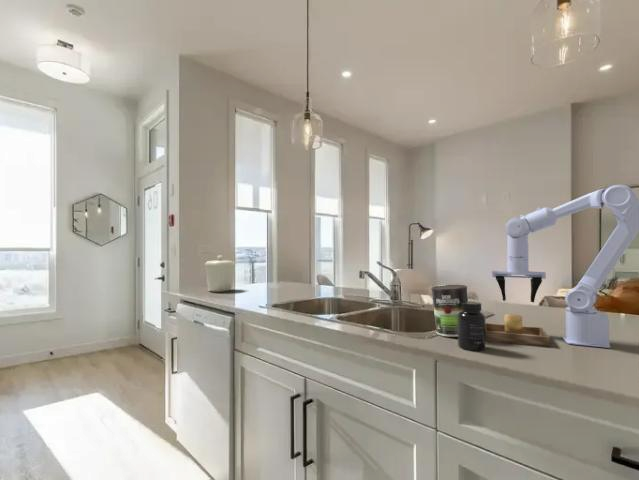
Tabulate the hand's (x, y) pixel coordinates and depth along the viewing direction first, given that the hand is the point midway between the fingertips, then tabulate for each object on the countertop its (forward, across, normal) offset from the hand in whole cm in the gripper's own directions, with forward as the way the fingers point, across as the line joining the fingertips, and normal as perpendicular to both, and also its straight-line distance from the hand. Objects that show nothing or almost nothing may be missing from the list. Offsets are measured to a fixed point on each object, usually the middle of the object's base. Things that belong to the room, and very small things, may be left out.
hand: (518, 301), depth 109 cm
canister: (+10, +151, -40) cm, 157 cm away
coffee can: (+10, +18, +10) cm, 23 cm away
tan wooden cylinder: (+9, +2, +8) cm, 13 cm away
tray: (+10, +2, +8) cm, 13 cm away
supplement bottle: (+10, +13, +23) cm, 28 cm away
